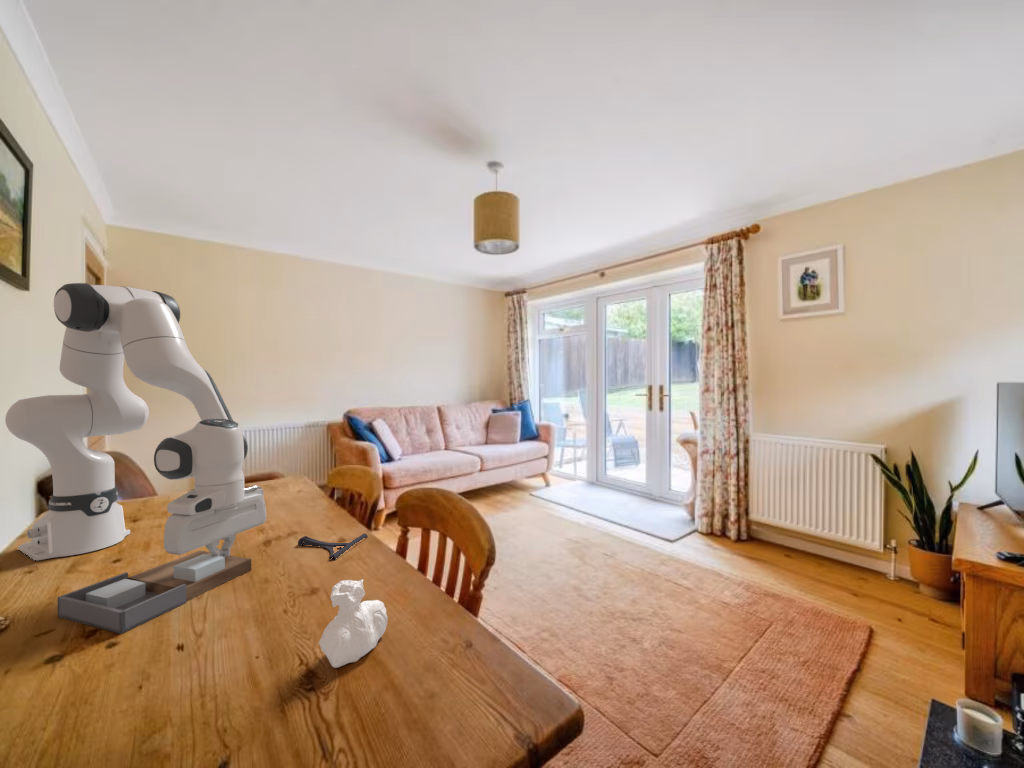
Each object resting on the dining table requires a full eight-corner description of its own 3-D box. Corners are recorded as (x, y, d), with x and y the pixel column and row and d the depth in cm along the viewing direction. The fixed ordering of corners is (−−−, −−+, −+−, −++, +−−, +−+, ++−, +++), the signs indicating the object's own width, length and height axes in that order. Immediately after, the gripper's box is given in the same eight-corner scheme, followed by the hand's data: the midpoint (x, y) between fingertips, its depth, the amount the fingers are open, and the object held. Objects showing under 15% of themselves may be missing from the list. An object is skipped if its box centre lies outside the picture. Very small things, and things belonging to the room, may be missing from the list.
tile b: (173, 578, 83) (173, 566, 83) (203, 565, 89) (203, 554, 89) (195, 581, 81) (195, 569, 81) (224, 568, 87) (224, 557, 87)
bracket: (317, 536, 113) (317, 526, 113) (367, 539, 111) (367, 529, 111) (279, 559, 99) (279, 547, 99) (335, 563, 96) (335, 551, 96)
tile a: (85, 606, 76) (85, 593, 76) (125, 590, 82) (124, 578, 82) (107, 611, 74) (106, 598, 74) (145, 595, 80) (145, 582, 80)
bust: (381, 641, 69) (351, 579, 72) (408, 622, 67) (376, 559, 70) (318, 688, 59) (286, 614, 62) (348, 669, 56) (313, 592, 59)
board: (128, 589, 83) (128, 577, 83) (199, 561, 96) (199, 550, 96) (184, 602, 78) (184, 589, 78) (251, 570, 92) (251, 558, 92)
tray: (57, 616, 74) (57, 597, 74) (126, 589, 83) (125, 572, 83) (121, 634, 68) (120, 613, 68) (186, 602, 78) (186, 584, 78)
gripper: (252, 482, 100) (253, 539, 100) (157, 506, 80) (158, 577, 80) (272, 484, 98) (273, 542, 98) (181, 509, 78) (181, 582, 79)
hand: (221, 558), depth 89 cm, fingers closed
